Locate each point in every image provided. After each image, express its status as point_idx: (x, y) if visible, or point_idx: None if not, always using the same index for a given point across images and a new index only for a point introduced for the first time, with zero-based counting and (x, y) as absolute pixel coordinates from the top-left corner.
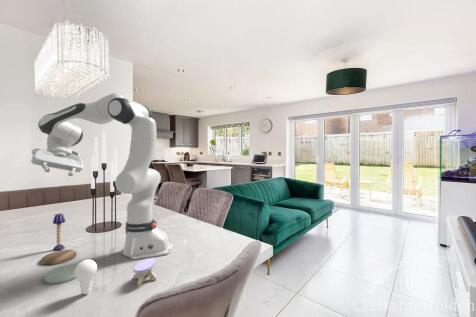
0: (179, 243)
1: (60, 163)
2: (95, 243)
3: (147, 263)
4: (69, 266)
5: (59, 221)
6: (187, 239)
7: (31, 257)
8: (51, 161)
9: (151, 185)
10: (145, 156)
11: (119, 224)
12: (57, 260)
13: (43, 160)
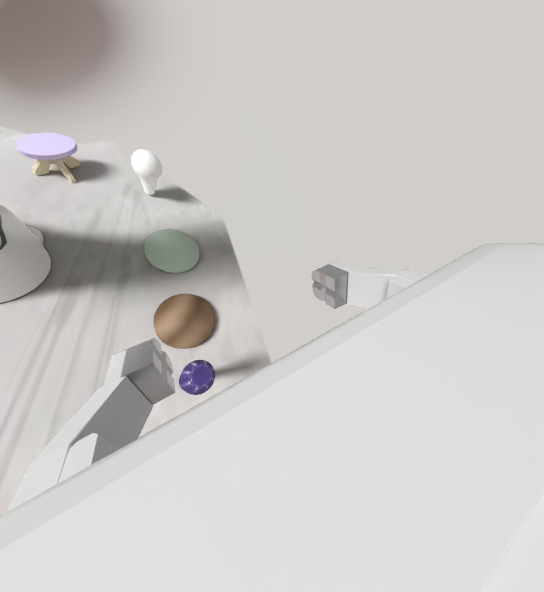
0: None
1: (308, 344)
2: (96, 385)
3: (41, 142)
4: (167, 262)
5: (196, 360)
6: None
7: (233, 352)
8: (403, 292)
9: None
10: None
11: None
12: (187, 297)
13: (449, 265)
